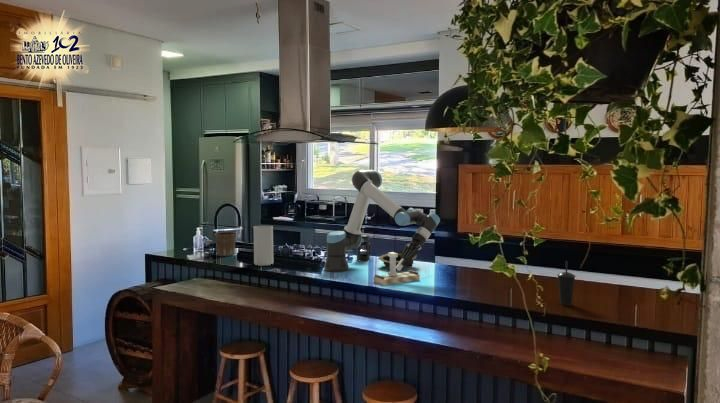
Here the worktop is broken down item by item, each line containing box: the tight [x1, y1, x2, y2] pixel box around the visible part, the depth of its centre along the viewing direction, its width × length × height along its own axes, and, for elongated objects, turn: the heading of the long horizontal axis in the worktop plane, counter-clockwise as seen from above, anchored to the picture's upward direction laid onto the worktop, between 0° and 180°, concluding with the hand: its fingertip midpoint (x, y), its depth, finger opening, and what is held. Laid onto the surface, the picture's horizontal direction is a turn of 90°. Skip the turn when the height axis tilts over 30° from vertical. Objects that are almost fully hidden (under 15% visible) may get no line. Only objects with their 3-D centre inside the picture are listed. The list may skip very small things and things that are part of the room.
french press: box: [356, 226, 371, 262], centre depth 348 cm, size 12×9×23 cm
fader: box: [387, 251, 399, 277], centre depth 280 cm, size 3×5×13 cm, turn 32°
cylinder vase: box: [252, 225, 274, 267], centre depth 335 cm, size 12×12×25 cm
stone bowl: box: [377, 250, 418, 269], centre depth 322 cm, size 25×25×9 cm
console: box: [373, 269, 421, 286], centre depth 282 cm, size 24×10×4 cm, turn 121°
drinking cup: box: [557, 260, 576, 307], centre depth 230 cm, size 8×8×20 cm
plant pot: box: [213, 231, 238, 257], centre depth 372 cm, size 16×16×16 cm
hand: (397, 269), depth 280 cm, fingers closed
